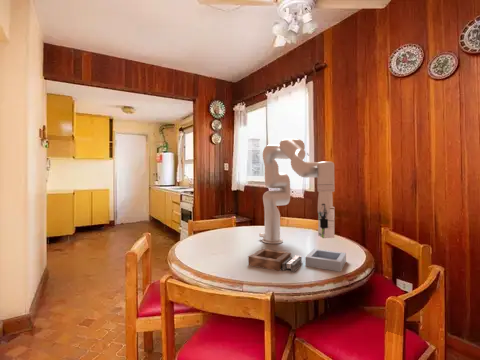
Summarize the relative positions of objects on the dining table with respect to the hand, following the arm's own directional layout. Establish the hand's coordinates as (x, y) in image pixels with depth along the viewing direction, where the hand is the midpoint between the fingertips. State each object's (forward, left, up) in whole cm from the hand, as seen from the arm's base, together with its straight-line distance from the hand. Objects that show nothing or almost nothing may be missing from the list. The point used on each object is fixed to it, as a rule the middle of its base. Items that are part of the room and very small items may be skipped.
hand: (326, 226), depth 120 cm
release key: (-12, -11, -17) cm, 24 cm away
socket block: (-20, -12, -17) cm, 29 cm away
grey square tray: (0, 0, -17) cm, 17 cm away
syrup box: (0, 0, -5) cm, 5 cm away
